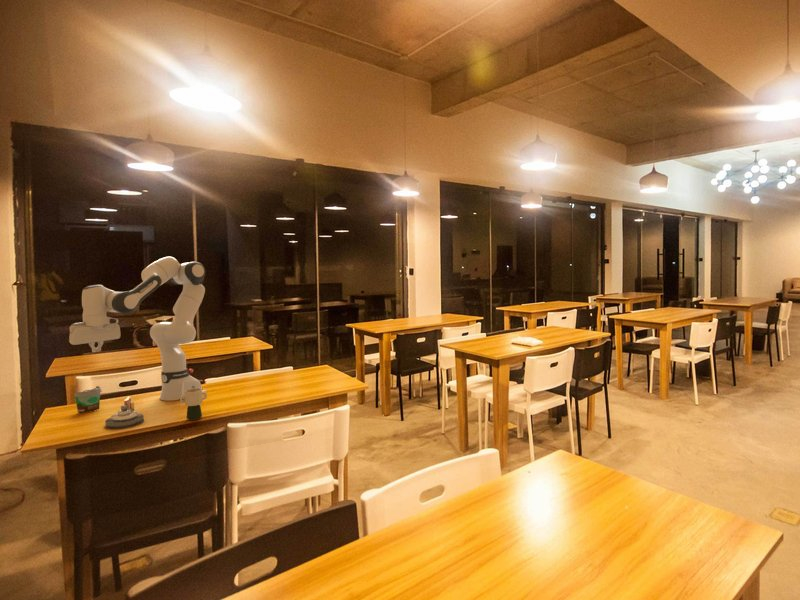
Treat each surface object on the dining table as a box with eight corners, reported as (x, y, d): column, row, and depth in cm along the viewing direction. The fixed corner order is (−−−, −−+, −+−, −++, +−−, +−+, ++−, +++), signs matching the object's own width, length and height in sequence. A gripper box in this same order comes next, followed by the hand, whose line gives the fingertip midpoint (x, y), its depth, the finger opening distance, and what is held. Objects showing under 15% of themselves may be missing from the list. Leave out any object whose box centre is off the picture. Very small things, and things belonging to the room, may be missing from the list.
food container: (86, 414, 201) (84, 393, 200) (74, 414, 202) (73, 392, 201) (109, 406, 213) (107, 386, 212) (98, 406, 214) (97, 385, 213)
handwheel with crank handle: (130, 416, 199) (129, 399, 198) (151, 420, 193) (150, 403, 192) (98, 425, 186) (97, 408, 185) (119, 430, 180) (118, 412, 179)
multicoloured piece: (135, 419, 186) (134, 404, 186) (108, 422, 183) (107, 406, 182) (141, 410, 199) (141, 395, 199) (117, 412, 196) (116, 398, 195)
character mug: (205, 414, 200) (204, 386, 199) (209, 418, 194) (208, 389, 194) (178, 419, 193) (177, 390, 192) (182, 423, 188) (181, 393, 187)
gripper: (73, 324, 186) (75, 356, 187) (121, 319, 205) (123, 348, 206) (65, 323, 189) (66, 355, 190) (113, 318, 208) (114, 347, 209)
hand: (96, 351), depth 198 cm, fingers closed
